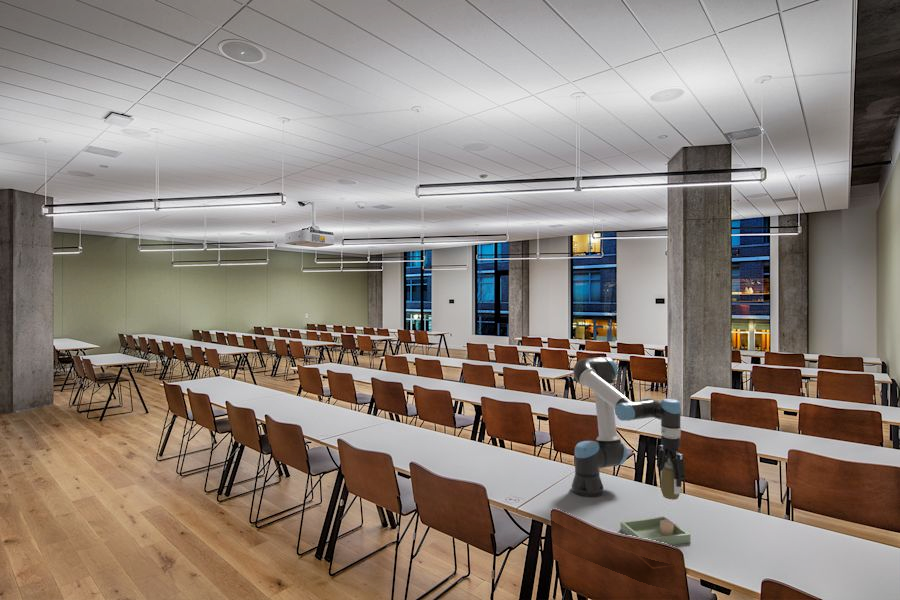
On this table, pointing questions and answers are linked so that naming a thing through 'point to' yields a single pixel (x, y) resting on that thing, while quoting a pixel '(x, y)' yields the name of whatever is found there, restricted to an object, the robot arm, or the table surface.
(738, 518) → the table surface
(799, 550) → the table surface
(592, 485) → the robot arm
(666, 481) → the squeeze bottle
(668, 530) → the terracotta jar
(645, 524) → the tray
